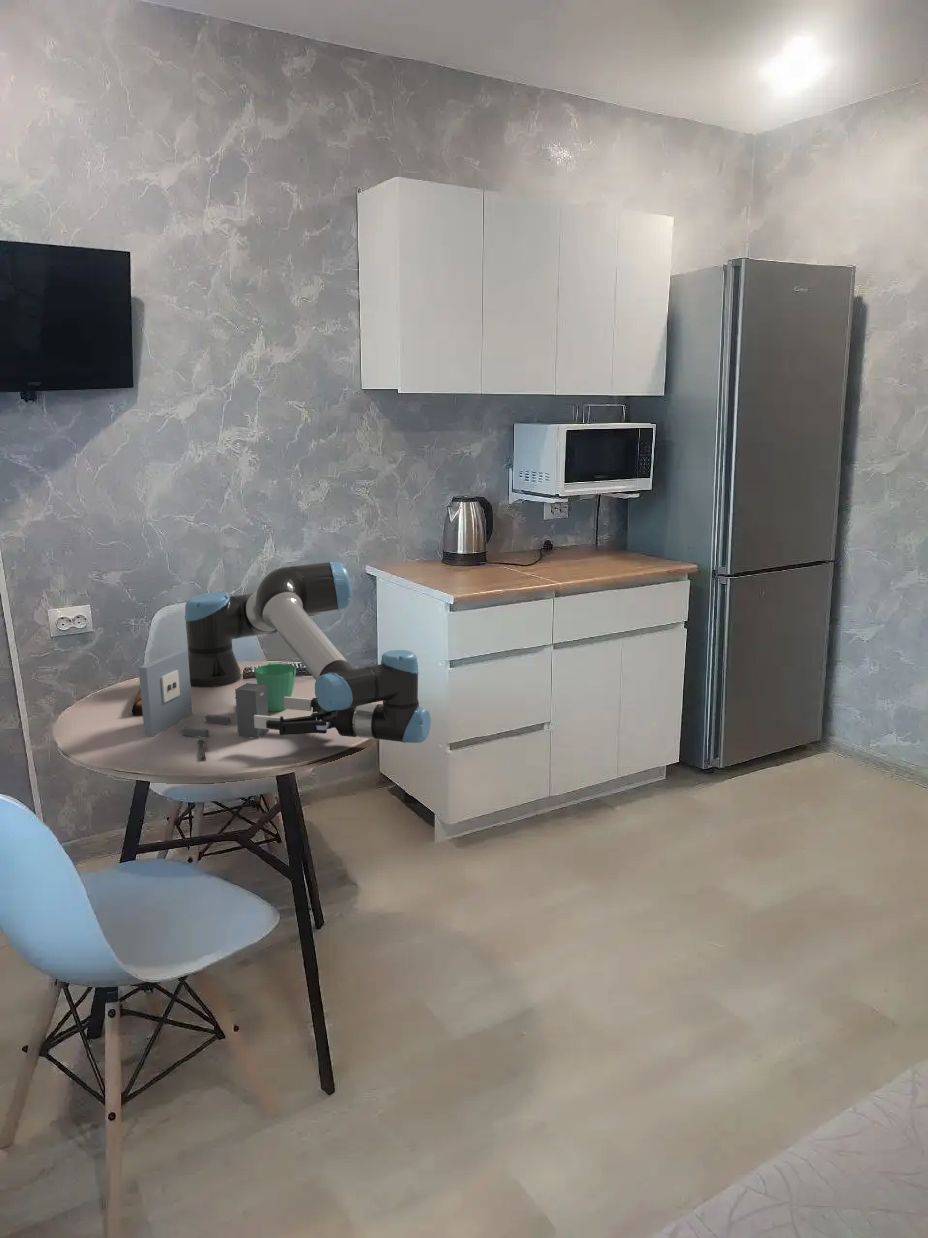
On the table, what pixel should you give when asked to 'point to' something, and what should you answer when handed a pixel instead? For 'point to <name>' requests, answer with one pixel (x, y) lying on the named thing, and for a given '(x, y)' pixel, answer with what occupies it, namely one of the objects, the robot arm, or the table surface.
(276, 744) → the table surface
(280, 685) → the mug
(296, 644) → the robot arm
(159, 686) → the outlet board
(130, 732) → the table surface
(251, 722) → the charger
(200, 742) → the grey long bar
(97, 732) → the table surface
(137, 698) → the sunglasses case
